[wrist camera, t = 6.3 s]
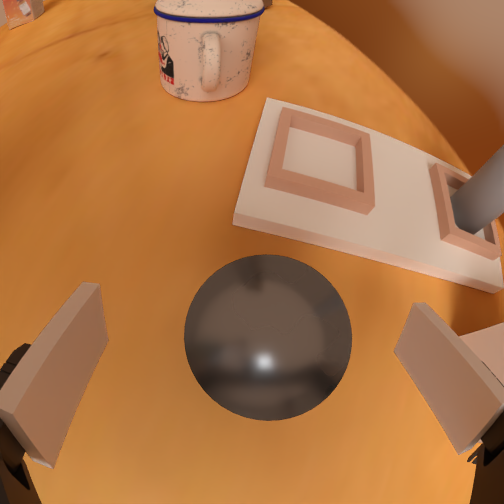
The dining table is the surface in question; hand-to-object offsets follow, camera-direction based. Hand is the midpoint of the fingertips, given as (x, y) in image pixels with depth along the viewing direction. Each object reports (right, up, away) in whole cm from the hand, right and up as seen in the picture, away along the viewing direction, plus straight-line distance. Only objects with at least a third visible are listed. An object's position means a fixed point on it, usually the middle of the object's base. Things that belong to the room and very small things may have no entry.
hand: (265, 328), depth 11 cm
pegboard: (+11, +7, +11) cm, 17 cm away
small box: (-52, +56, +23) cm, 80 cm away
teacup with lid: (-5, +18, +13) cm, 23 cm away
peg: (-1, -3, +4) cm, 5 cm away
